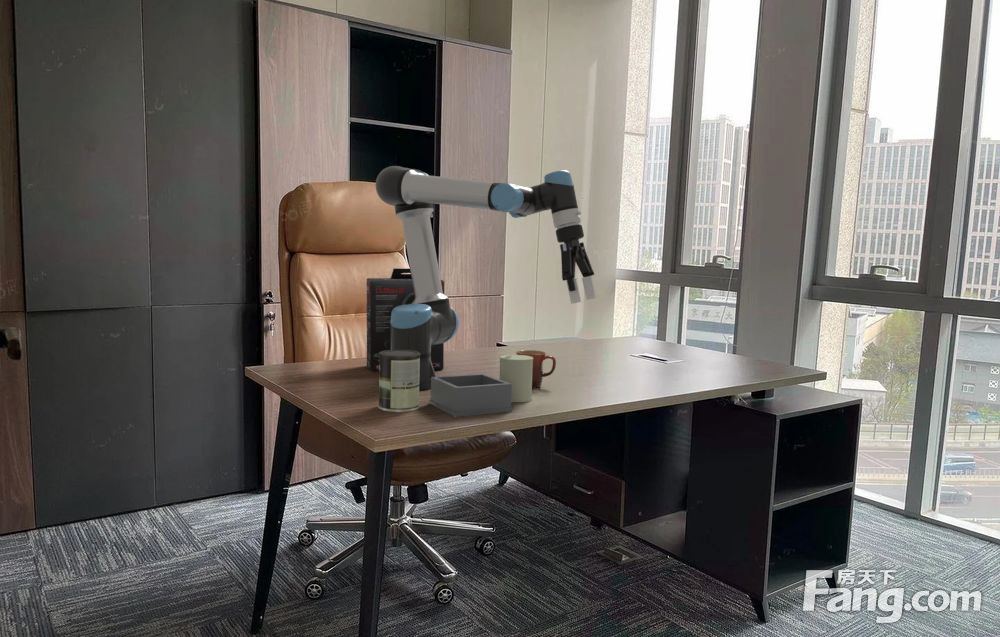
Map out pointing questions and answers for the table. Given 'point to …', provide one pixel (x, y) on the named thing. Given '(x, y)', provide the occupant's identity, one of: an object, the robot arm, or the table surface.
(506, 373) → the can
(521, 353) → the mug
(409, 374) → the coffee can
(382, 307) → the headset box
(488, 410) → the box
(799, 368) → the table surface
